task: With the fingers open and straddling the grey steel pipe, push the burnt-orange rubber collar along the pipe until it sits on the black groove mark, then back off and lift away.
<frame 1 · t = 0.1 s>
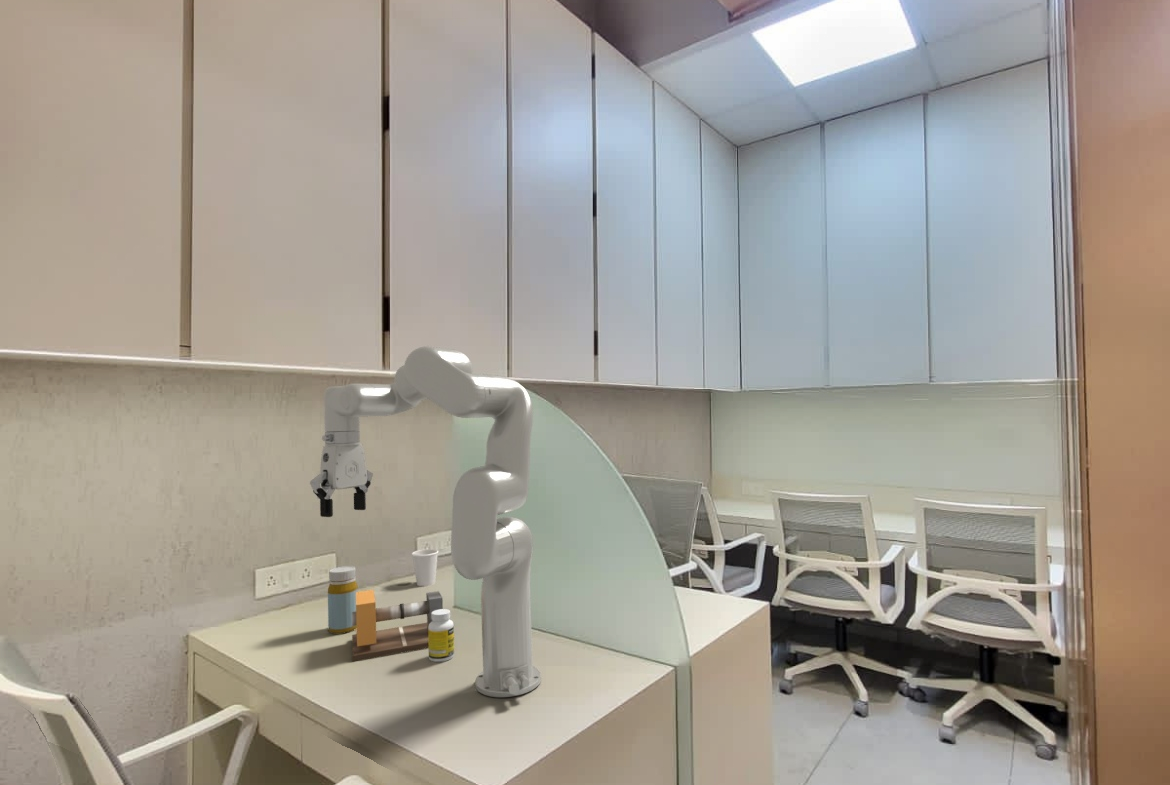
hand: (343, 513, 136), 31 cm above the table, tool pointing down, fingers open, 9 cm apart
bottle: (343, 630, 147), on the table
supplement bottle: (441, 658, 127), on the table
pipe stand: (398, 642, 137), on the table
collar: (365, 616, 135), point 7 cm above the table, slide at 8.0 cm
dixie cup: (426, 584, 187), on the table
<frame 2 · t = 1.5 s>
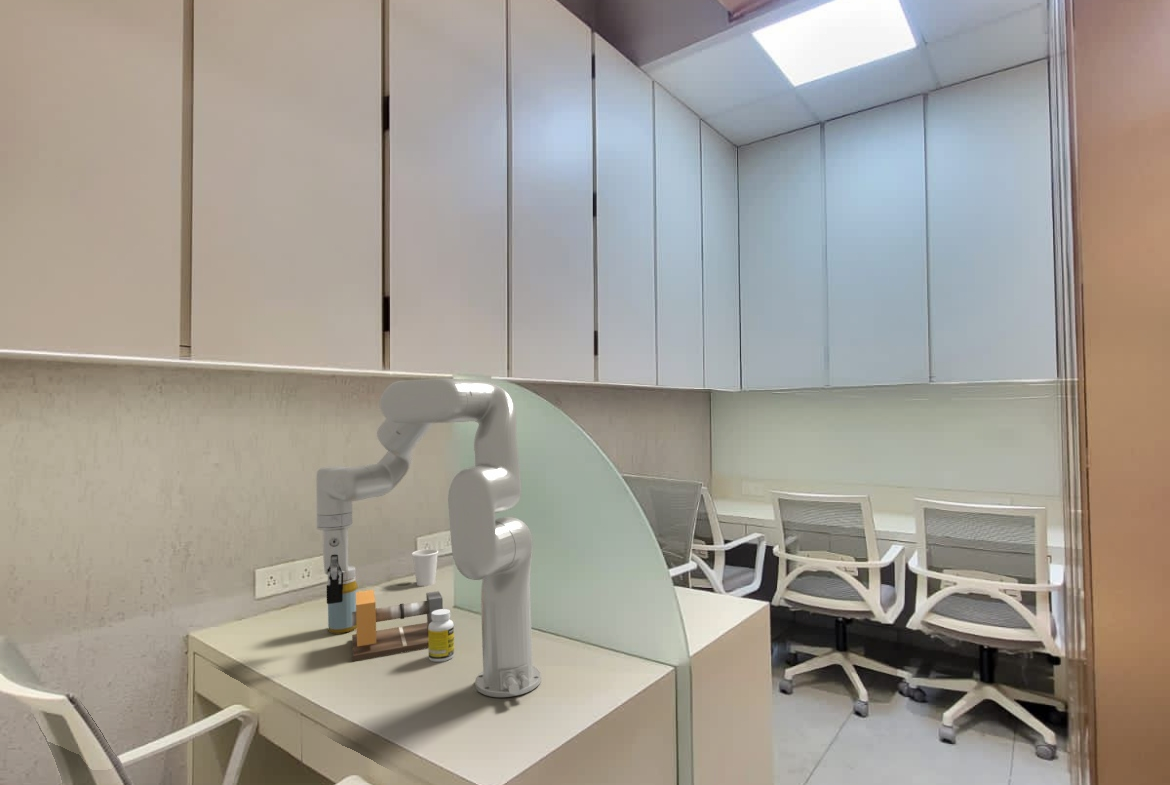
hand: (335, 596, 133), 12 cm above the table, tool pointing down, fingers open, 9 cm apart
nothing on the table moved.
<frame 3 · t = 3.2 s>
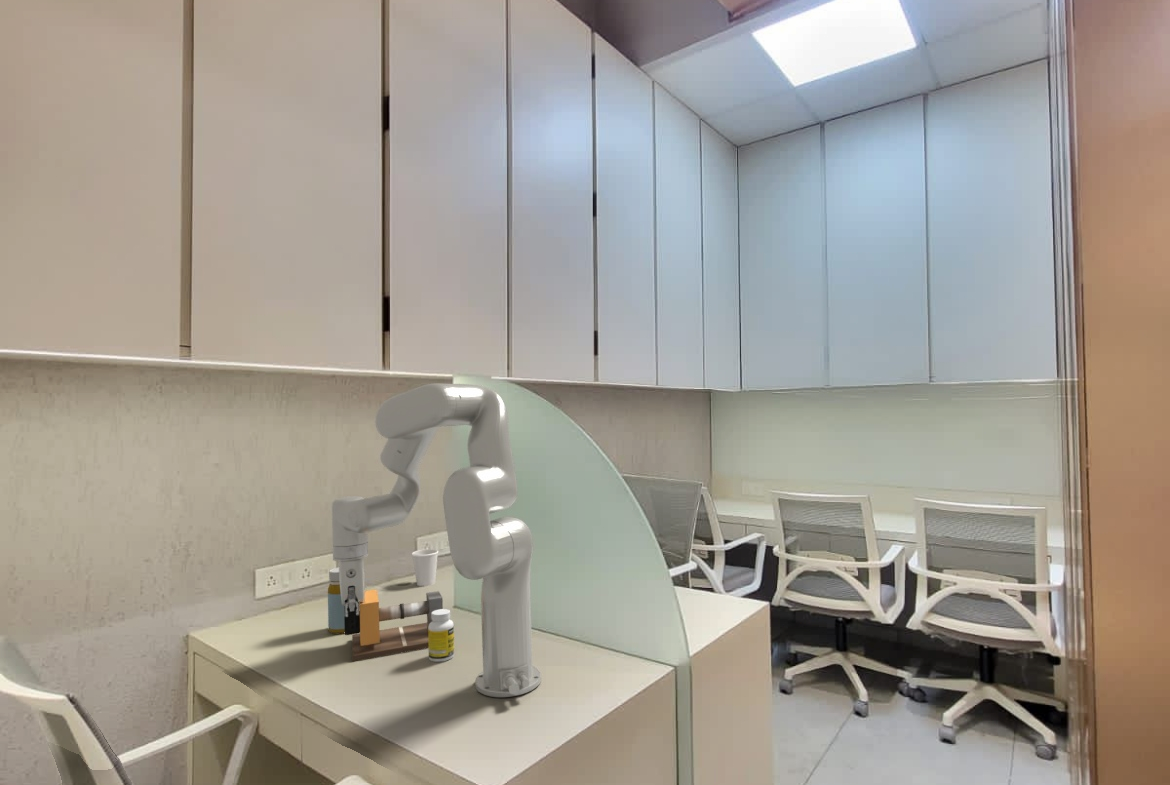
hand: (352, 626, 133), 5 cm above the table, tool pointing down, fingers open, 9 cm apart
collar: (369, 616, 135), point 7 cm above the table, slide at 7.3 cm, touching gripper
everything else where it was.
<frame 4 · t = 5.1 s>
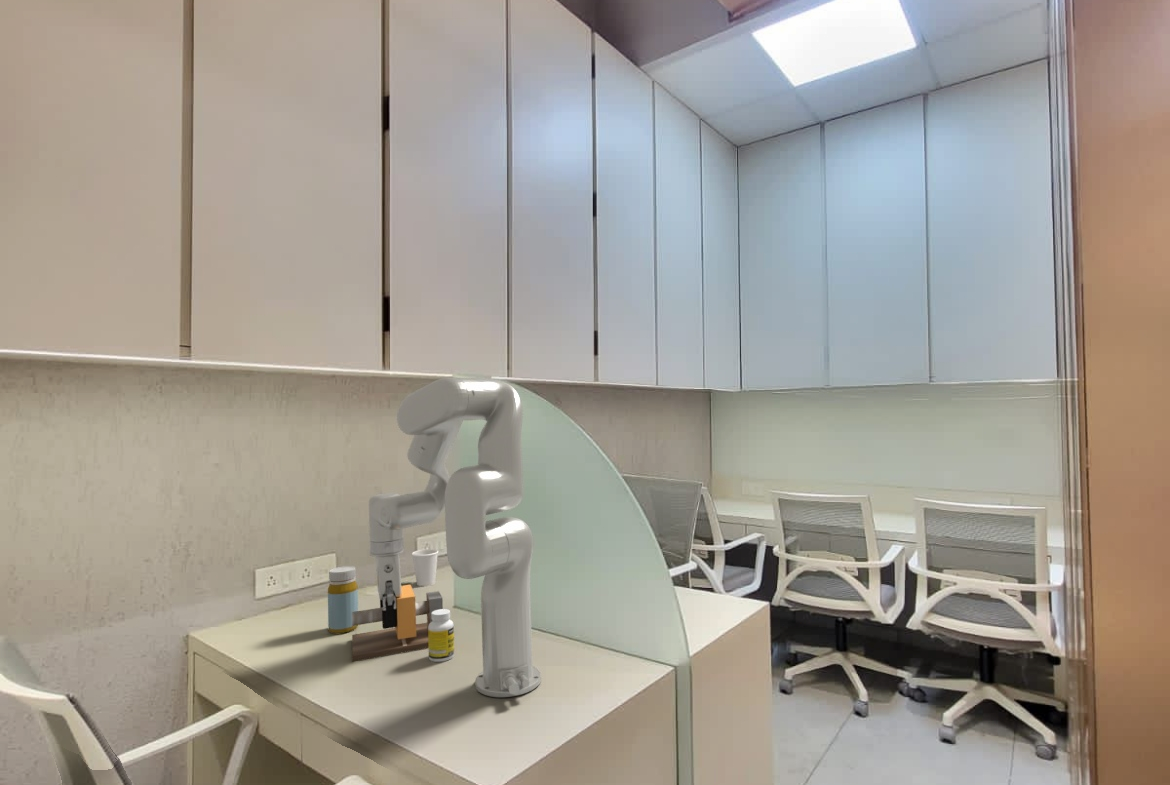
hand: (388, 620, 136), 5 cm above the table, tool pointing down
collar: (404, 610, 138), point 7 cm above the table, slide at -0.6 cm, touching gripper
everything else where it was.
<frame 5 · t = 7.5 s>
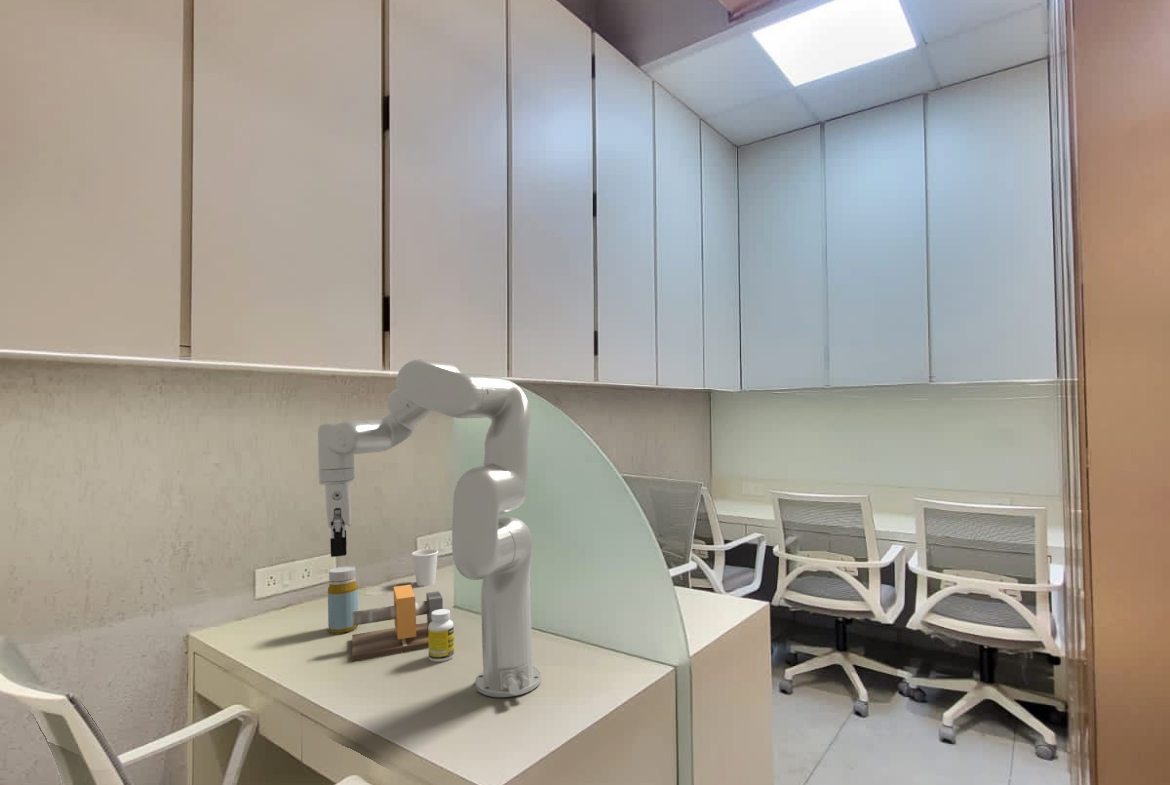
hand: (339, 551, 133), 23 cm above the table, tool pointing down, fingers open, 9 cm apart
collar: (404, 610, 138), point 7 cm above the table, slide at -0.6 cm
everything else where it was.
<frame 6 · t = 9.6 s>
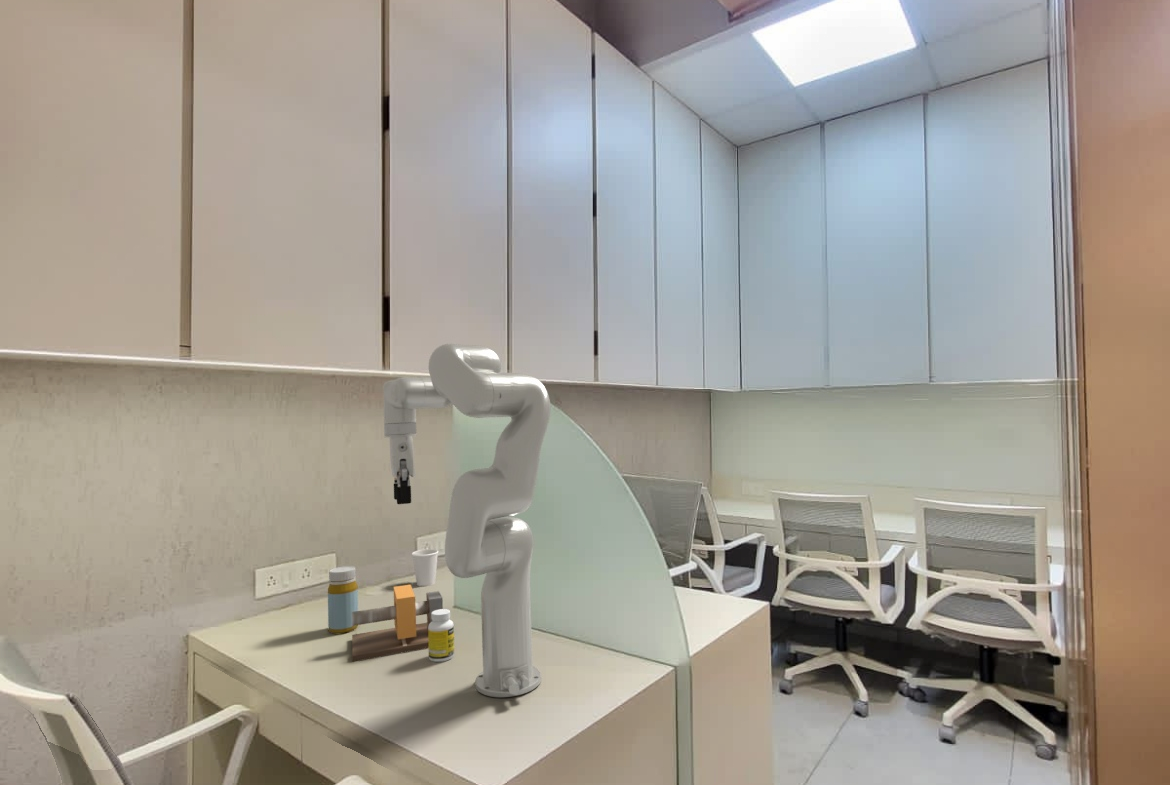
hand: (402, 501, 142), 32 cm above the table, tool pointing down, fingers open, 9 cm apart
nothing on the table moved.
at the end: collar slide at -0.6 cm; the gripper is holding nothing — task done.
